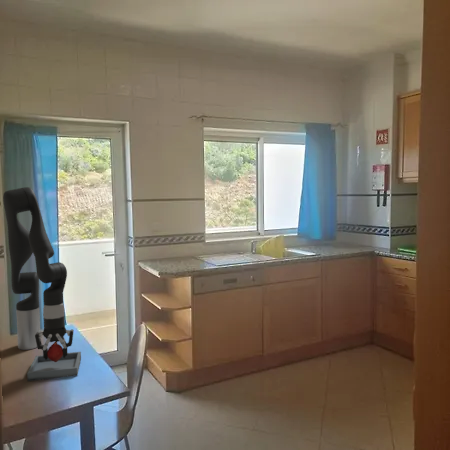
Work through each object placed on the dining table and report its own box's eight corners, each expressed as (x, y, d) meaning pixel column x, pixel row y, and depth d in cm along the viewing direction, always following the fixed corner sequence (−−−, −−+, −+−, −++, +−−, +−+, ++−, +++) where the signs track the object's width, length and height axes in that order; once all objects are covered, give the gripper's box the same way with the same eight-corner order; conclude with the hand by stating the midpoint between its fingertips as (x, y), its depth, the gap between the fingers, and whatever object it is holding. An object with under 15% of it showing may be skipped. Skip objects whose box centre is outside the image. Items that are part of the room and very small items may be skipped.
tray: (36, 363, 168) (36, 355, 167) (81, 358, 172) (80, 351, 172) (27, 381, 151) (27, 373, 151) (77, 375, 155) (77, 367, 155)
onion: (48, 366, 158) (47, 345, 157) (46, 360, 163) (46, 340, 162) (64, 363, 160) (64, 342, 160) (62, 358, 165) (62, 338, 165)
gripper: (74, 311, 166) (76, 352, 167) (35, 313, 162) (37, 356, 163) (72, 316, 158) (74, 359, 159) (31, 319, 155) (33, 363, 156)
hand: (55, 357), depth 161 cm, fingers closed on onion, 6 cm apart
